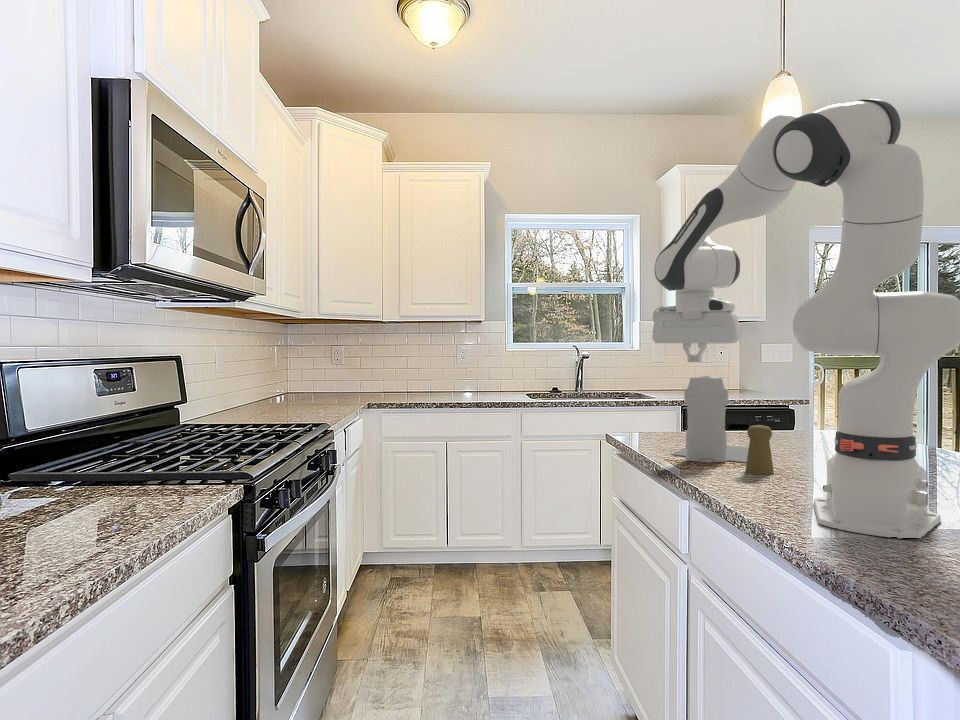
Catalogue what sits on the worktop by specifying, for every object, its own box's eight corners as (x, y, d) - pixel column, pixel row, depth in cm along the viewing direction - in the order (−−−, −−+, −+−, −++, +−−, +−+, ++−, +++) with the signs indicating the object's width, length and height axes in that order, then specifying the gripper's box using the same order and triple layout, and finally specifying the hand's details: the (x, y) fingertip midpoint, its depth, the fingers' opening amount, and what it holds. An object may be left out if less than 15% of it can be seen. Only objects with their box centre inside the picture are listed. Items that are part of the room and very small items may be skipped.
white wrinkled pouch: (684, 462, 152) (684, 376, 152) (683, 458, 156) (683, 375, 156) (729, 463, 150) (729, 376, 149) (727, 460, 154) (727, 375, 153)
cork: (742, 469, 143) (742, 423, 143) (768, 469, 142) (768, 423, 142) (749, 474, 137) (750, 427, 137) (777, 475, 136) (777, 427, 136)
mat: (750, 463, 149) (750, 462, 149) (671, 455, 162) (671, 454, 162) (769, 450, 167) (769, 449, 167) (697, 443, 179) (697, 442, 179)
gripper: (648, 306, 149) (648, 362, 149) (734, 302, 136) (734, 363, 137) (657, 307, 154) (657, 361, 154) (741, 303, 141) (741, 362, 142)
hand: (694, 362), depth 145 cm, fingers closed
